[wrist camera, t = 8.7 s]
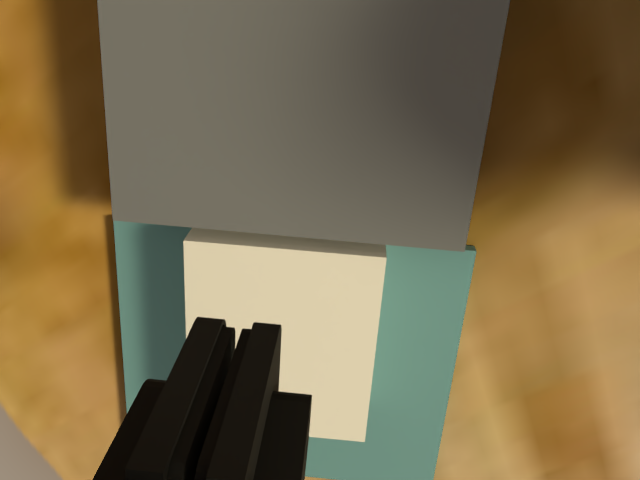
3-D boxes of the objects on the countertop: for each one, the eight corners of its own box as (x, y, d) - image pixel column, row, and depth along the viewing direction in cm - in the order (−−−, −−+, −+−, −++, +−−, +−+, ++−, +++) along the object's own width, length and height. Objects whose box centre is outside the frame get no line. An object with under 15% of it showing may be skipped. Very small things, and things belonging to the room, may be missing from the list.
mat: (117, 214, 24) (113, 218, 23) (474, 245, 24) (476, 251, 23) (133, 450, 29) (130, 458, 28) (430, 480, 28) (431, 489, 28)
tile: (201, 214, 23) (183, 240, 21) (384, 230, 23) (387, 257, 21) (203, 386, 26) (188, 425, 24) (364, 401, 26) (364, 442, 24)
